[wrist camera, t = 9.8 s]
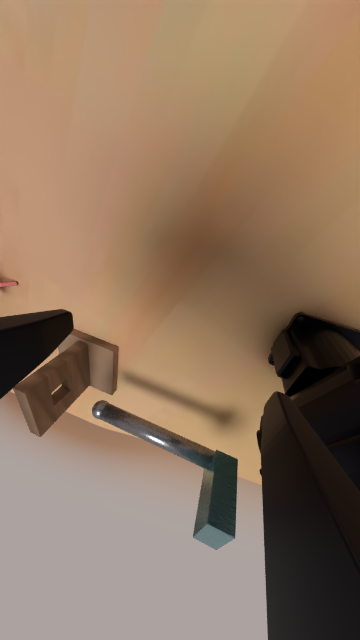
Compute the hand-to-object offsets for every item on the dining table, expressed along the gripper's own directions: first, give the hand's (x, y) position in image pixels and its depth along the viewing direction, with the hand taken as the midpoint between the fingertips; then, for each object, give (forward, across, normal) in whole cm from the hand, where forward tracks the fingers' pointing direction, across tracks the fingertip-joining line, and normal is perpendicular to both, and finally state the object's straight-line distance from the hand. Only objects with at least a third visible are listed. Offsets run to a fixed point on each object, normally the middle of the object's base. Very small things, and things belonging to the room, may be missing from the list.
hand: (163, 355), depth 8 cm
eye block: (+13, +15, +19) cm, 27 cm away
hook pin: (+8, 0, +19) cm, 20 cm away
